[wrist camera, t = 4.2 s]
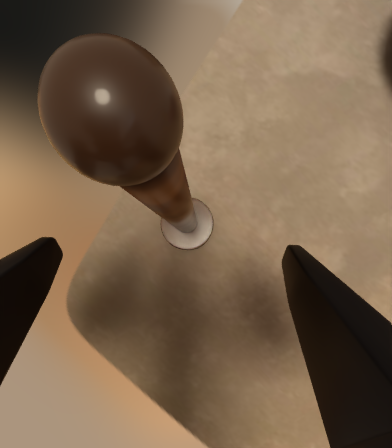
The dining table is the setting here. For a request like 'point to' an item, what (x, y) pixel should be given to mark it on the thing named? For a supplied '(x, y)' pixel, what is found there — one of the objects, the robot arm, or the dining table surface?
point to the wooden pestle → (122, 128)
